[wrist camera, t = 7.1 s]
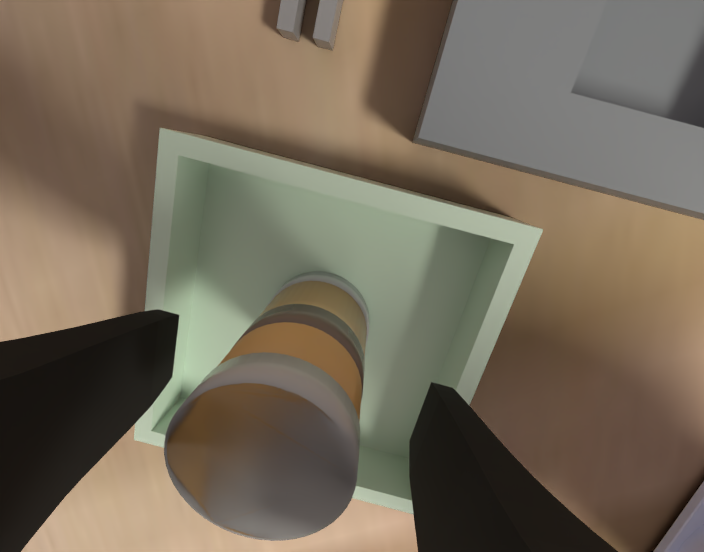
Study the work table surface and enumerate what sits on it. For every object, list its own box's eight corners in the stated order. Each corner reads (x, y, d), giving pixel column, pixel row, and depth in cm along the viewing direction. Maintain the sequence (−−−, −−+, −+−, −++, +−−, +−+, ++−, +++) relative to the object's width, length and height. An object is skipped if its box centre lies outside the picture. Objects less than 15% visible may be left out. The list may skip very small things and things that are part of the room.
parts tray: (512, 217, 12) (543, 229, 10) (416, 463, 16) (422, 516, 13) (202, 135, 12) (159, 127, 10) (171, 398, 16) (133, 439, 13)
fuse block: (968, -100, 9) (1127, -173, 7) (763, 235, 12) (838, 249, 10) (515, -221, 9) (552, -325, 7) (412, 142, 12) (418, 137, 10)
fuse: (383, 291, 13) (386, 422, 6) (350, 375, 14) (322, 563, 7) (286, 256, 13) (184, 351, 6) (260, 343, 14) (149, 504, 7)
